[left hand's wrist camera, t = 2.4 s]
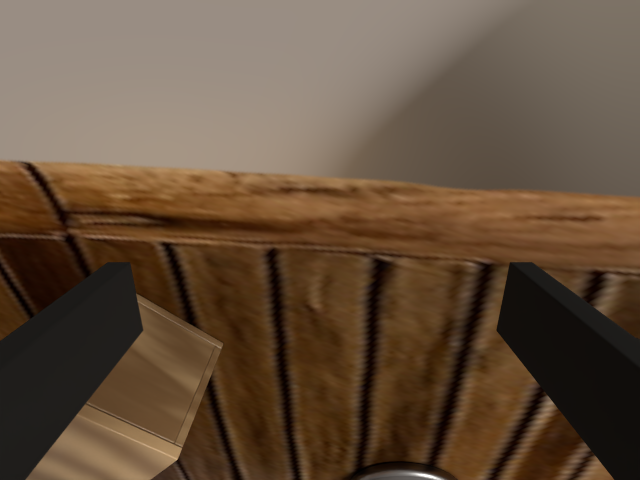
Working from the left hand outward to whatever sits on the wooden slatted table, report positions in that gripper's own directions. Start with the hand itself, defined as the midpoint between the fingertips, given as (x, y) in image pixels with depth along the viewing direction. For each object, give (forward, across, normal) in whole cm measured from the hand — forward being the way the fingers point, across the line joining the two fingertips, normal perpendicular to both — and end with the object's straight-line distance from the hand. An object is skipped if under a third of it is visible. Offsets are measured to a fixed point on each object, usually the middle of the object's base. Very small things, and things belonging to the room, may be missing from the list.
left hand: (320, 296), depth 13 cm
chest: (+20, +18, +18) cm, 33 cm away
